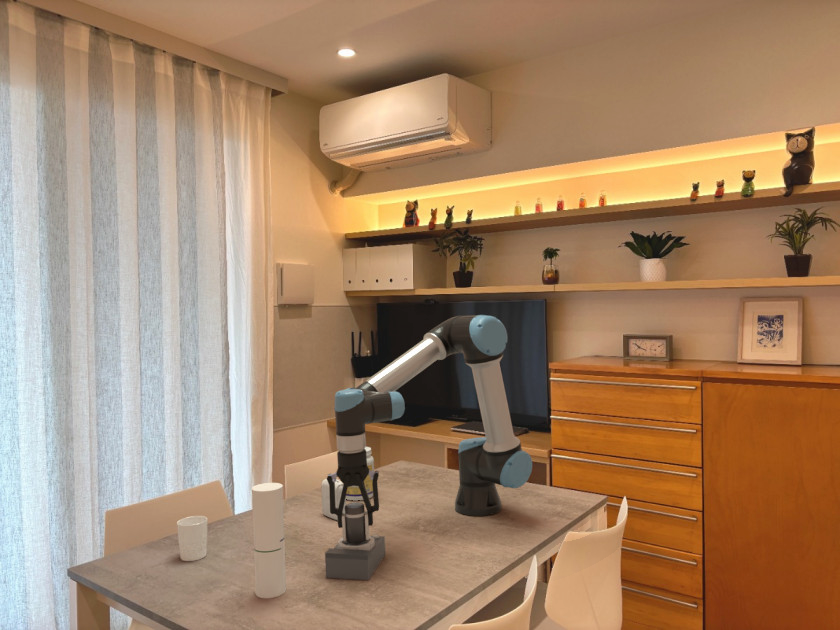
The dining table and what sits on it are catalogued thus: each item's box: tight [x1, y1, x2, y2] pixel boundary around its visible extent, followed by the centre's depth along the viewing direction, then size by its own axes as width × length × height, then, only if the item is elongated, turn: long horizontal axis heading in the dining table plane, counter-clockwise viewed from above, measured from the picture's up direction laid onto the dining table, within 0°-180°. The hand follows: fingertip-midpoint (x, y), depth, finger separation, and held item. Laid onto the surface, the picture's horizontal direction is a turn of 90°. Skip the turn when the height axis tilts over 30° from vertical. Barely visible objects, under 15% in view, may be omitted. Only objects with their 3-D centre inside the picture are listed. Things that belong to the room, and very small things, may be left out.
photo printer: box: [321, 478, 347, 521], centre depth 201 cm, size 10×4×12 cm, turn 39°
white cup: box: [176, 515, 208, 562], centre depth 171 cm, size 8×8×10 cm
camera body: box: [324, 534, 386, 581], centre depth 162 cm, size 16×11×7 cm
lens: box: [345, 501, 366, 544], centre depth 162 cm, size 5×5×9 cm
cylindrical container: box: [251, 482, 287, 599], centre depth 148 cm, size 7×7×25 cm
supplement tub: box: [340, 446, 375, 502], centre depth 222 cm, size 12×12×17 cm
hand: (356, 538), depth 162 cm, fingers open, 5 cm apart
